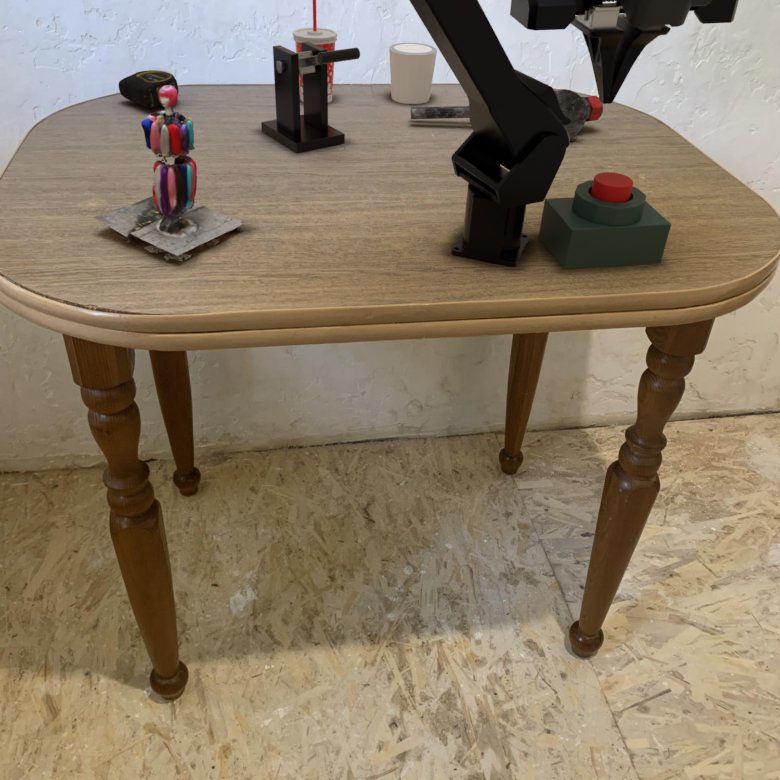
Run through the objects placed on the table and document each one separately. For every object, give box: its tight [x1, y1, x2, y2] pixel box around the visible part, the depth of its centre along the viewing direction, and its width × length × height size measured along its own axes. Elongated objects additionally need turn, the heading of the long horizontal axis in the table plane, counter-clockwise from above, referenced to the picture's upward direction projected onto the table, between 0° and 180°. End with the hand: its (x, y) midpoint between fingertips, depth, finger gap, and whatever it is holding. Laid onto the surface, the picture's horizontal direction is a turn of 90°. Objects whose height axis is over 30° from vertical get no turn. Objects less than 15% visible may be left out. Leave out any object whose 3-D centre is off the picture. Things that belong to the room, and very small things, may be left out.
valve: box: [410, 88, 604, 139], centre depth 106 cm, size 6×26×15 cm
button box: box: [538, 179, 672, 271], centre depth 75 cm, size 10×7×6 cm
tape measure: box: [118, 69, 179, 109], centre depth 106 cm, size 7×7×4 cm
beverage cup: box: [292, 0, 338, 104], centre depth 107 cm, size 6×6×14 cm
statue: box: [93, 85, 246, 262], centre depth 72 cm, size 11×9×15 cm
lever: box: [298, 47, 361, 75], centre depth 90 cm, size 11×5×2 cm, turn 36°
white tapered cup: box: [388, 42, 438, 105], centre depth 112 cm, size 7×7×7 cm
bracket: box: [260, 42, 346, 154], centre depth 96 cm, size 9×7×11 cm
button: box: [591, 171, 634, 203], centre depth 73 cm, size 4×4×2 cm
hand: (605, 102), depth 72 cm, fingers closed
